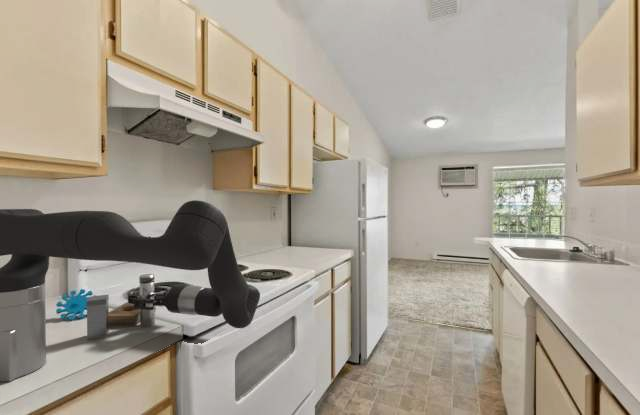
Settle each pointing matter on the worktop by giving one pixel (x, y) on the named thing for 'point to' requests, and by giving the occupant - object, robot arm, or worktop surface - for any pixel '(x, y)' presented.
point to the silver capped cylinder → (145, 288)
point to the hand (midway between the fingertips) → (141, 294)
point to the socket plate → (124, 315)
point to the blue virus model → (74, 304)
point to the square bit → (97, 317)
